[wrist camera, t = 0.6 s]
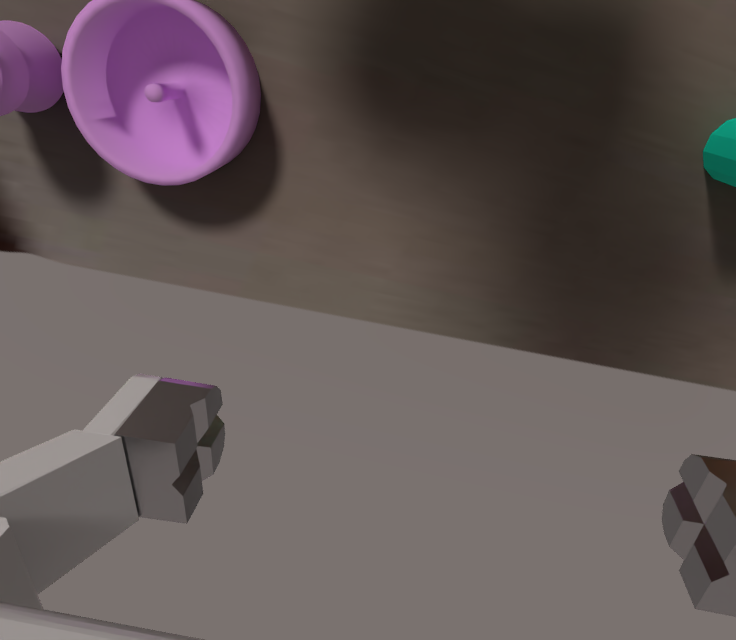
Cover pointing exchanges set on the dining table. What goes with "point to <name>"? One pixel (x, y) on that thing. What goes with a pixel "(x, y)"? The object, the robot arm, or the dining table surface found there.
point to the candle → (722, 153)
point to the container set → (141, 85)
